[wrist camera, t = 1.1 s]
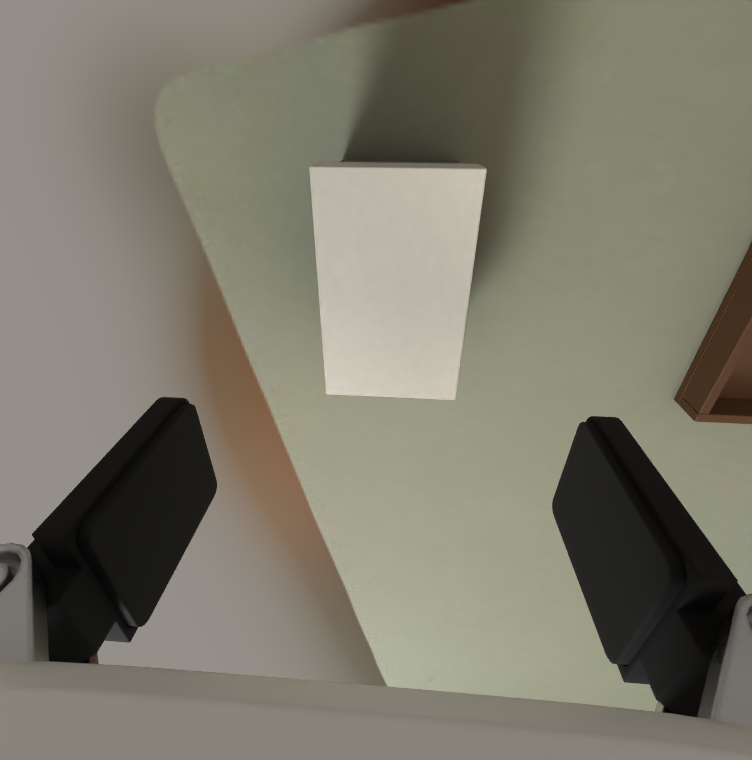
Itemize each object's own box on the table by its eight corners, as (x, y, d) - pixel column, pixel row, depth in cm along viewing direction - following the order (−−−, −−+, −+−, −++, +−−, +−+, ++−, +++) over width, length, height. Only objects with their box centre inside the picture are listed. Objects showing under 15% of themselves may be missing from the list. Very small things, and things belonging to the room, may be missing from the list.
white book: (318, 161, 17) (308, 166, 15) (479, 163, 16) (487, 168, 15) (332, 374, 22) (325, 394, 21) (451, 379, 22) (455, 400, 20)
